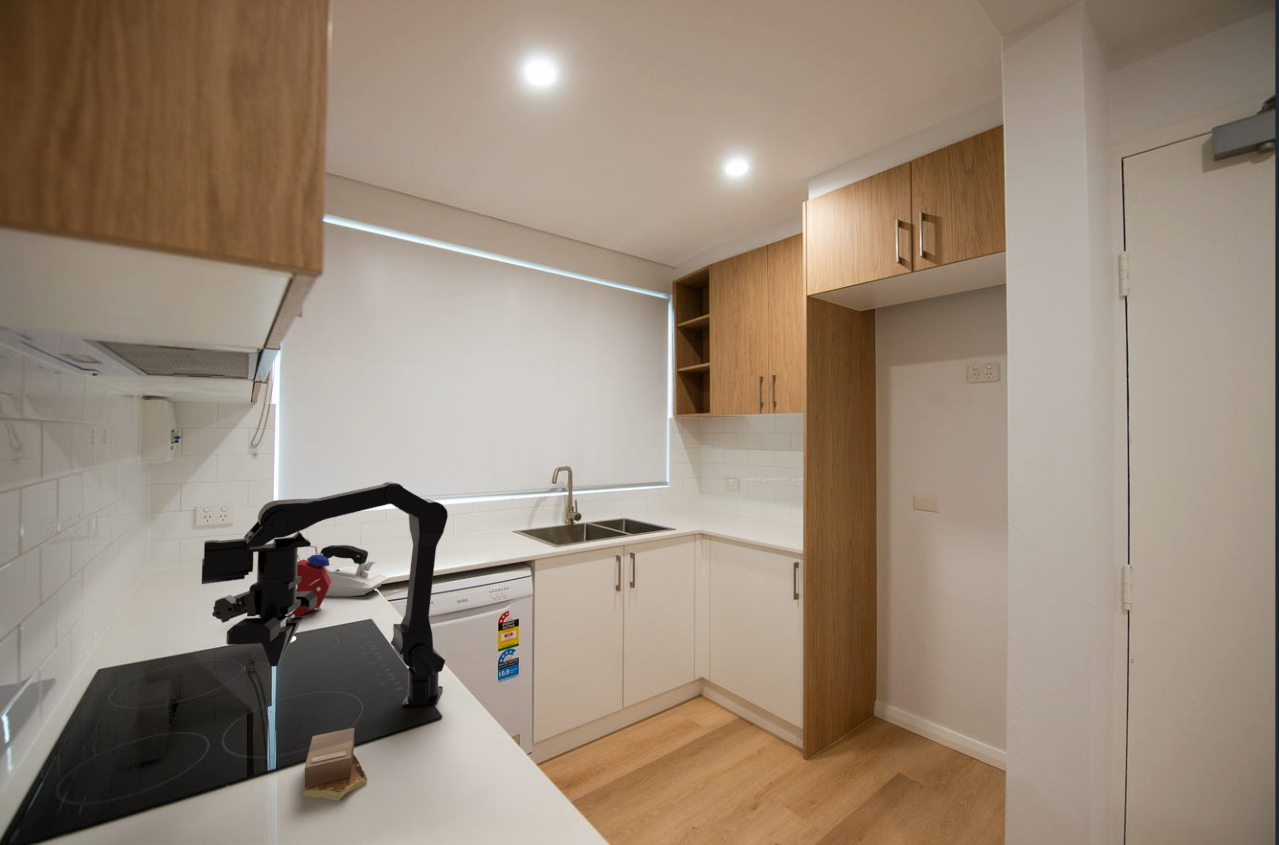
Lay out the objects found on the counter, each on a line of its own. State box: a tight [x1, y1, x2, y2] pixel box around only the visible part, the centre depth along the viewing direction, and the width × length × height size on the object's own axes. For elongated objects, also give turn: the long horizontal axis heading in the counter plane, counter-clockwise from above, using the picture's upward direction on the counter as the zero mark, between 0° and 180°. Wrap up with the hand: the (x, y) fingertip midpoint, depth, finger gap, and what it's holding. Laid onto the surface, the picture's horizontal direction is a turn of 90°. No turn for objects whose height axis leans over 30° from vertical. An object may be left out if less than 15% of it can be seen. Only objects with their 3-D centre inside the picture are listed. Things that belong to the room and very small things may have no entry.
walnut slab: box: [304, 727, 355, 789], centre depth 84 cm, size 3×6×9 cm
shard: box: [303, 753, 368, 801], centre depth 84 cm, size 11×8×2 cm
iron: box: [319, 544, 391, 597], centre depth 176 cm, size 11×24×15 cm, turn 85°
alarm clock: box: [292, 544, 331, 617], centre depth 155 cm, size 15×9×20 cm, turn 113°
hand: (274, 665), depth 93 cm, fingers closed
